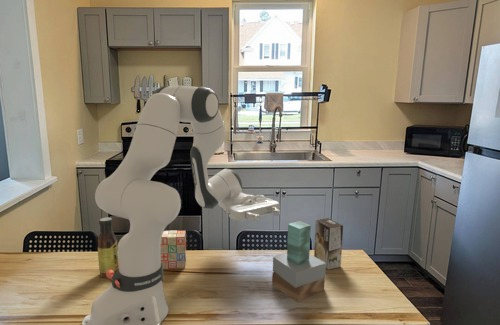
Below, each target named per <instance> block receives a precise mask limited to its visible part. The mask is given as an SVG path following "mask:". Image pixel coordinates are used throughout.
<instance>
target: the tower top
mask: <svg viewBox="0 0 500 325" xmlns="http://www.w3.org/2000/svg"><path fill="white" fill-rule="evenodd" d="M326 270H327V269H326V263H325V262H323V261H321V260H320V259H318V258H316V257H314V254H311V253H309V261H307V262H305V263H302V264H300V265H297V264H295V263H293V262H291V261H289V260H287V252H286V253H282V254H278V255H274V256H273V257H272V272H275V273H276V274H278V275H279V276H280V277H282V278H283V279H284V280H286V281H287V282H288V283H290V284H291V285H292V286H294V287H295V288H297V287H300V286H303V285H305V284H308V283H311V282H314V281H317V280H320V279H323V278H325V279H326Z"/></svg>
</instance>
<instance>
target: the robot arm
mask: <svg viewBox="0 0 500 325" xmlns="http://www.w3.org/2000/svg"><path fill="white" fill-rule="evenodd" d="M219 103H220V102H219V98H218V96H217V94H216V93H215V91H214V90H213V89H212V88H209V87H205V86H199V87H198V86H192V85H191V86H190V85H185V84H184V85H172V86H168V85H165V86H161V87H159V88H156V89H155V90H154V92H153V93H152V94H151V95H150V96H149V97H148V99H147V100H146V102H145V104H144V107H143V108H142V110H141V113H140V115H139V118H138V121H137V123H136V126H135V130H134V134H133V136H132V139H131V142H130V145H129V147H128V151H127V153H126V155H125V156H124V158H123V160H122V161H121V163H120V164H119V165H118V167H117V168H116V169H115V171H114V172H112V173H111V174H110V175H109V176H108V177H106V178H104V179H103V180H102V181H101V182H99V184H98V185H97V188H96V189H95V192H94V200H95V201H94V202H95V203H96V205H97V207H98V208H99V209H100V210H102V211H104V212H105V213H107V214H109V215H111V216H113V217H118V218H121V219H127V220H128V221H129V224H130V225H129V232H128V233H126V234H124V235H123V236H122V237H121V238H120V239H119V241H118V242H117V249H118V265H119V268H118V270H117V272H116V273H114V271H113V270H108V271H107V273H106V276H107V278H108V280H111V284H110V285H109V286H108V287H107V288H105V290H104V291H102V293H100V295H98V296H97V297H96V298H95V299H94V300H93V302H92V304H91V308H90V314H88V315H85V317H83V320H82V322H81V325H161V323H162V322H163V321H164V320H165V319H166V317H167V315H168V313H169V306H168V303H167V300H166V297H165V293H164V288H163V287H164V286H163V282H164V269H163V267H162V263H161V238H162V234H163V231H165V229H166V227H167V226H168V225H169V224H171V223H173V221H174V220H175V219H176V218H177V216H178V215H179V213H180V210H181V205H182V200H181V195H180V194H179V191H178V190H177V189H176V188H175V187H172V186H169V185H168V184H165V183H164V182H160V181H155V180H154V181H153V180H151V179H152V178H153V177H154V175H155V174H156V173H157V172H158V171H159V170H161V169H162V168H165V167H167V165H168V164H169V163H170V161H171V158H172V154H173V151H174V147H175V143H176V140H177V135H178V132H179V127H180V122H182V123H190V127H191V129H192V133H193V143H192V147H191V148H190V151H189V152H190V153H189V155H190V166H191V170H192V178H193V183H194V197H195V200H196V202H197V204H198V205H199V206H200V207H201V208H204V209H209V210H212V209H214V208H215V207H216V206H220V207H221V208H222V209H223V211H224V213H225V214H227V215H228V217H229V218H230V219H231V220H233V221H236V222H242V221H246V220H253V221H259V220H260V219H261V218H260V217H263V216H268V215H272V214H273V215H274V216H280V215H281V211H280V207H281V206H280V202H279V201H278V200H275V199H272V198H270V197H269V198H268V197H265V195H263V194H249V193H248V194H247V193H244V192H243V182H242V179H241V177H240V175H239V174H238V173H237V172H236V171H234V170H233V169H230V168H224V169H222V170H221V171H218V172H217V173H216V174H214V175H213V176H211V177H210V178H209V175H208V165H209V162H210V161H211V159H212V157H213V156H214V155H215V154H216V153H217V151H219V149H221V147H222V146H223V145H224V142H225V140H226V137H227V136H226V135H227V134H226V133H227V132H226V126H225V123H224V119H223V116H222V113H221V111H220V104H219Z"/></svg>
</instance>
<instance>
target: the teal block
mask: <svg viewBox="0 0 500 325" xmlns="http://www.w3.org/2000/svg"><path fill="white" fill-rule="evenodd" d="M310 245H311V224H308V223H306V222H303V221H301V220H298V221H294V222H290V223H288V224H287V246H286V248H287V249H286V253H287V260H289V261H291V262H293V263H295V264H297V265H300V264H302V263H305V262H307V261H309V254H310V249H311V248H310V247H311V246H310Z"/></svg>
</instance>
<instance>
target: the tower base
mask: <svg viewBox="0 0 500 325" xmlns="http://www.w3.org/2000/svg"><path fill="white" fill-rule="evenodd" d="M271 275H272V276H271V277H272V278H271V280H272V282H271V285H272V287H274V288H275V289H278V290H279V291H281V292H282V293H284V294H285V295H287V296H289V297H290V298H292V299H293V300H295V301H296V302H299V303H300V302H301V301H303V300H306V299H307V298H309V297H311V296H313V295H315V294H318V293H319V292H321V291H323V290H325V283H326V277H325V278H323V279H320V280H317V281H314V282H311V283H308V284H305V285H303V286H300V287H297V288H295V287H294V286H292V285H291V284H290V283H288V282H287V281H286V280H284V279H283V278H282V277H280V276H279V275H278V274H276V273H275V272H274V271H272V274H271Z"/></svg>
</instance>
